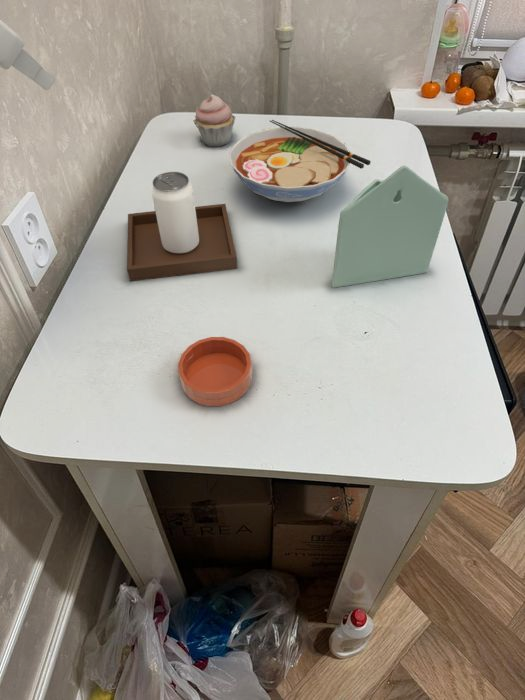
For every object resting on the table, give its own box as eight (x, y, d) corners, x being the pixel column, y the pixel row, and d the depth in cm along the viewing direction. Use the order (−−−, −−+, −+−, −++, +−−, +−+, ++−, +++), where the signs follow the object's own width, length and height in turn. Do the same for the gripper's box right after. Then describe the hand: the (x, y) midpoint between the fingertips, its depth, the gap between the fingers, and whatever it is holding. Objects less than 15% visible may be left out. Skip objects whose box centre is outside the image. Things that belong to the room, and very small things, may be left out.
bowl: (183, 412, 65) (180, 398, 62) (179, 355, 71) (176, 341, 69) (256, 401, 66) (256, 387, 63) (246, 346, 72) (245, 332, 70)
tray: (130, 281, 81) (126, 269, 80) (130, 225, 92) (127, 213, 90) (237, 268, 83) (236, 256, 81) (226, 215, 93) (225, 203, 91)
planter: (408, 243, 87) (436, 132, 72) (427, 272, 82) (462, 159, 67) (317, 257, 85) (327, 145, 70) (331, 288, 80) (345, 174, 65)
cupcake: (193, 132, 115) (188, 87, 107) (233, 128, 116) (231, 83, 108) (197, 152, 109) (191, 105, 101) (239, 148, 110) (237, 101, 102)
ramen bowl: (204, 185, 100) (200, 146, 94) (288, 147, 110) (289, 109, 103) (289, 243, 88) (291, 201, 81) (375, 194, 97) (383, 154, 91)
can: (176, 260, 84) (164, 197, 75) (155, 242, 87) (141, 180, 78) (207, 244, 87) (199, 181, 78) (185, 227, 90) (176, 165, 81)
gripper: (-63, -55, 43) (76, 67, 53) (-65, -47, 58) (45, 47, 67) (-101, 8, 44) (43, 116, 54) (-94, 0, 59) (19, 87, 68)
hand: (44, 78), depth 61 cm, fingers open, 8 cm apart
